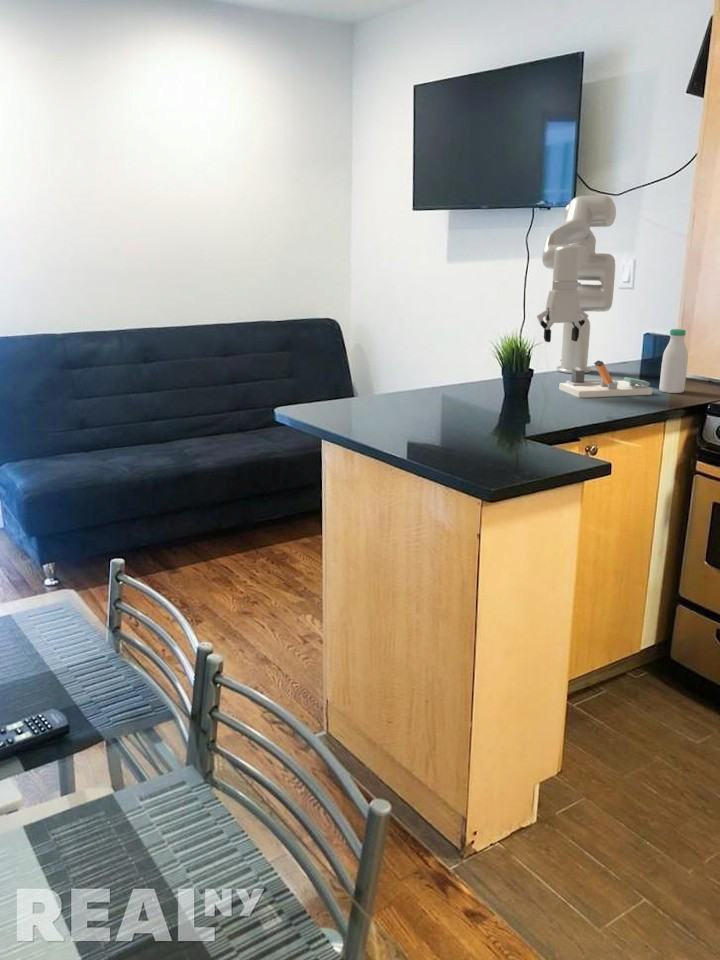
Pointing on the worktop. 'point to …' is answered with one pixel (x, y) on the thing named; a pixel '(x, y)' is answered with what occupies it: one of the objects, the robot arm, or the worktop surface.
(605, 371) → the lever
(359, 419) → the worktop surface
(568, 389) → the panel
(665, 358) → the milk bottle
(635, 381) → the rocker
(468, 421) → the worktop surface
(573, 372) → the slider
